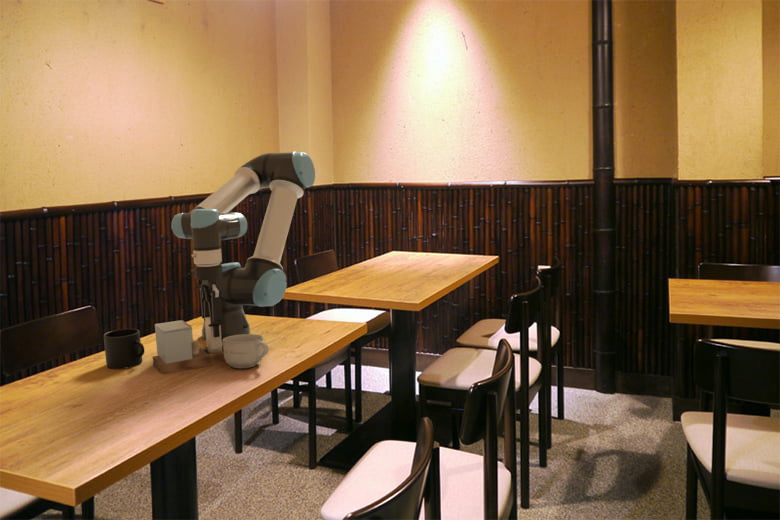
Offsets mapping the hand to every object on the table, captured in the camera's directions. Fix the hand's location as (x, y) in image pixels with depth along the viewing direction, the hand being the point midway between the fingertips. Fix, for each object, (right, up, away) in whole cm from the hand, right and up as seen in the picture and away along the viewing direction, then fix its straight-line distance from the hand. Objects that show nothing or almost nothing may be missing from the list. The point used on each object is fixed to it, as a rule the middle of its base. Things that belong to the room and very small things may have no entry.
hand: (213, 345), depth 190 cm
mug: (-24, -5, -2) cm, 24 cm away
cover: (-9, -2, -5) cm, 11 cm away
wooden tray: (-5, -4, -3) cm, 7 cm away
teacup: (+11, -5, -8) cm, 14 cm away
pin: (0, -4, +1) cm, 4 cm away
